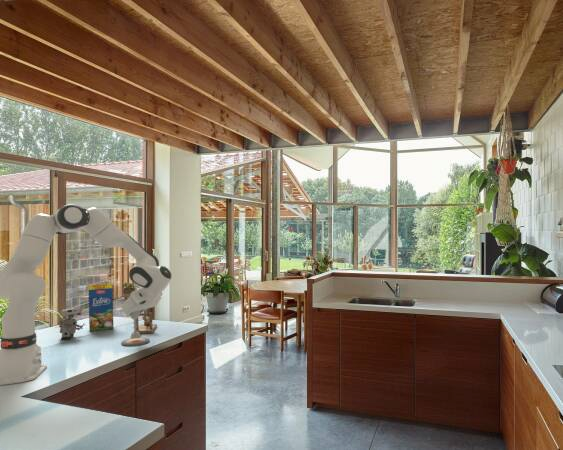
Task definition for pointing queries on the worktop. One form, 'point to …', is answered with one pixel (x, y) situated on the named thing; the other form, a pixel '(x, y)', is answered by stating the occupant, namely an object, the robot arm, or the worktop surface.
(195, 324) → the worktop surface
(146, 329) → the toy catapult
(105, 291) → the blue food package
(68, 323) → the figurine
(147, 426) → the worktop surface
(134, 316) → the chalice
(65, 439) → the worktop surface
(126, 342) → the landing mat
